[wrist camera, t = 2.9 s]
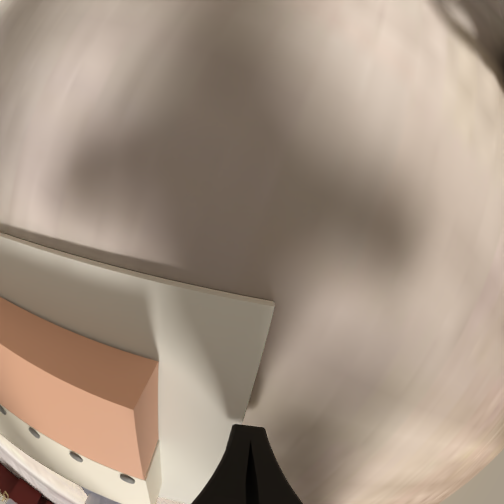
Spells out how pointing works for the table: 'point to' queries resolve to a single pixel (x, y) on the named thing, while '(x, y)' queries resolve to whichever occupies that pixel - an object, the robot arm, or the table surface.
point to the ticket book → (83, 464)
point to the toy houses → (18, 489)
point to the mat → (155, 345)
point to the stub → (79, 391)
